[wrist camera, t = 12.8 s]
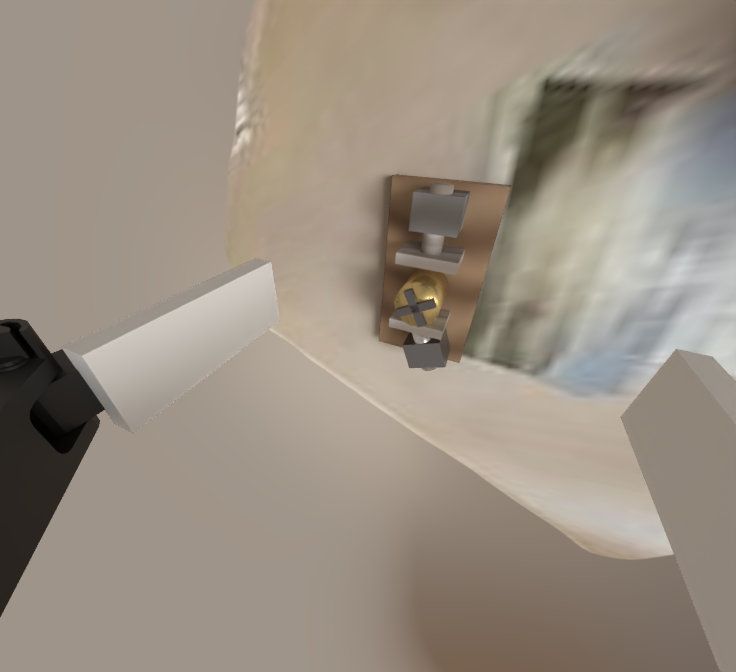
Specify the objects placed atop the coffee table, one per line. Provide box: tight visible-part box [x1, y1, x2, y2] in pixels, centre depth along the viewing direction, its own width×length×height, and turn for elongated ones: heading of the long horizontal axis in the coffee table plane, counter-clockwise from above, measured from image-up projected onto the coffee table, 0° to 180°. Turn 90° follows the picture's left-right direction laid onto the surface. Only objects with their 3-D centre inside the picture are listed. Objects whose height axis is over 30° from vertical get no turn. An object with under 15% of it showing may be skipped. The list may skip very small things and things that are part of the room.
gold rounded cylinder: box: [394, 268, 449, 327], centre depth 34 cm, size 5×5×7 cm
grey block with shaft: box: [403, 327, 451, 371], centre depth 38 cm, size 6×5×4 cm
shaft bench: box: [379, 175, 511, 363], centre depth 35 cm, size 22×12×7 cm, turn 177°
